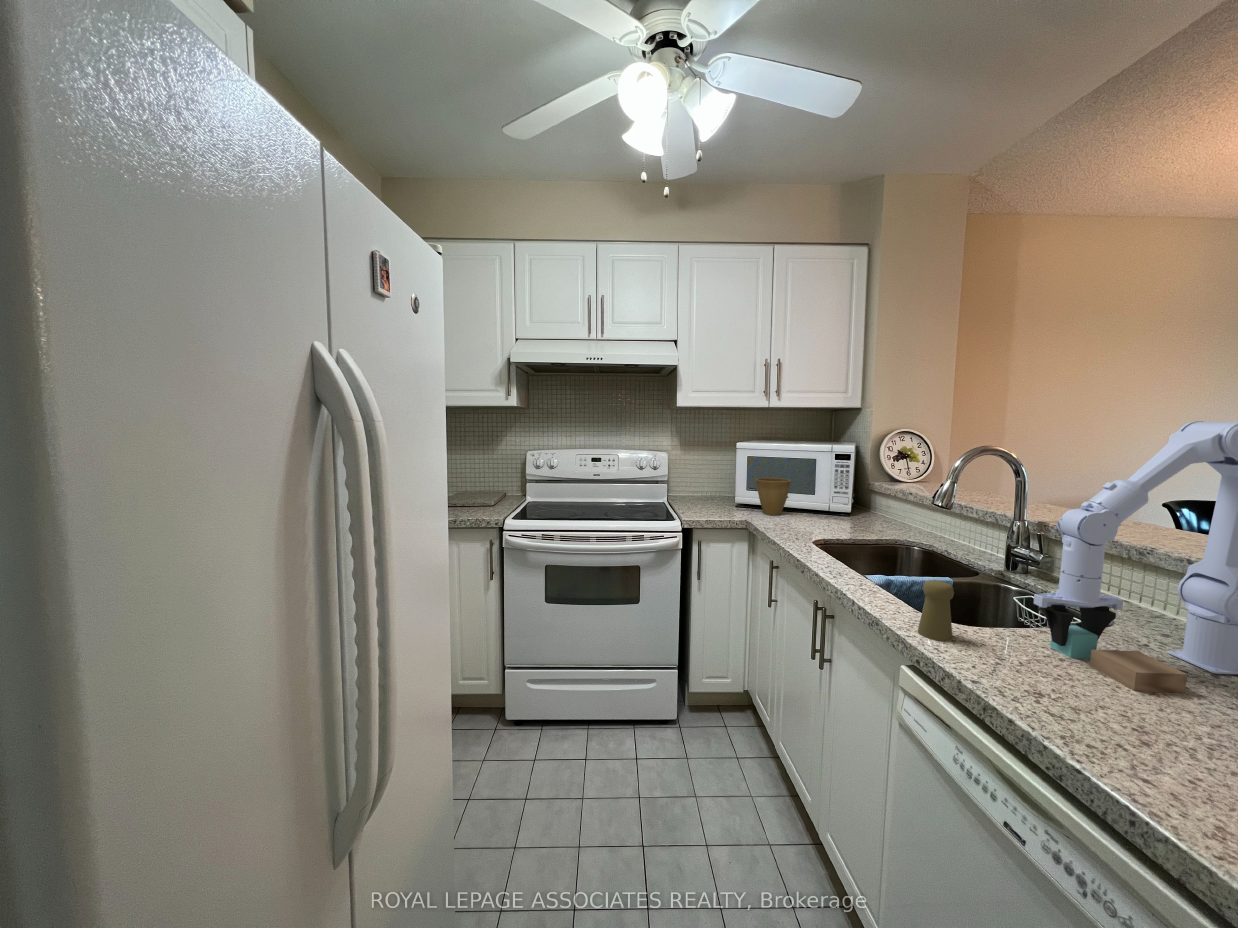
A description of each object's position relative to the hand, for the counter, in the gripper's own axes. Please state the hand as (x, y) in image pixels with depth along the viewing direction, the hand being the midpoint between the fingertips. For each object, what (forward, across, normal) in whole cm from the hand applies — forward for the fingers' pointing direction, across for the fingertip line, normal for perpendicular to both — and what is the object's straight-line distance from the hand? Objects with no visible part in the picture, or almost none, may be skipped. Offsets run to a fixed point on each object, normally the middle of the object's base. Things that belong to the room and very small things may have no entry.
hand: (1073, 644), depth 94 cm
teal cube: (+2, 0, 0) cm, 2 cm away
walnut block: (+2, -2, +9) cm, 10 cm away
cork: (+2, +22, -6) cm, 23 cm away
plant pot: (+2, +21, -134) cm, 136 cm away
